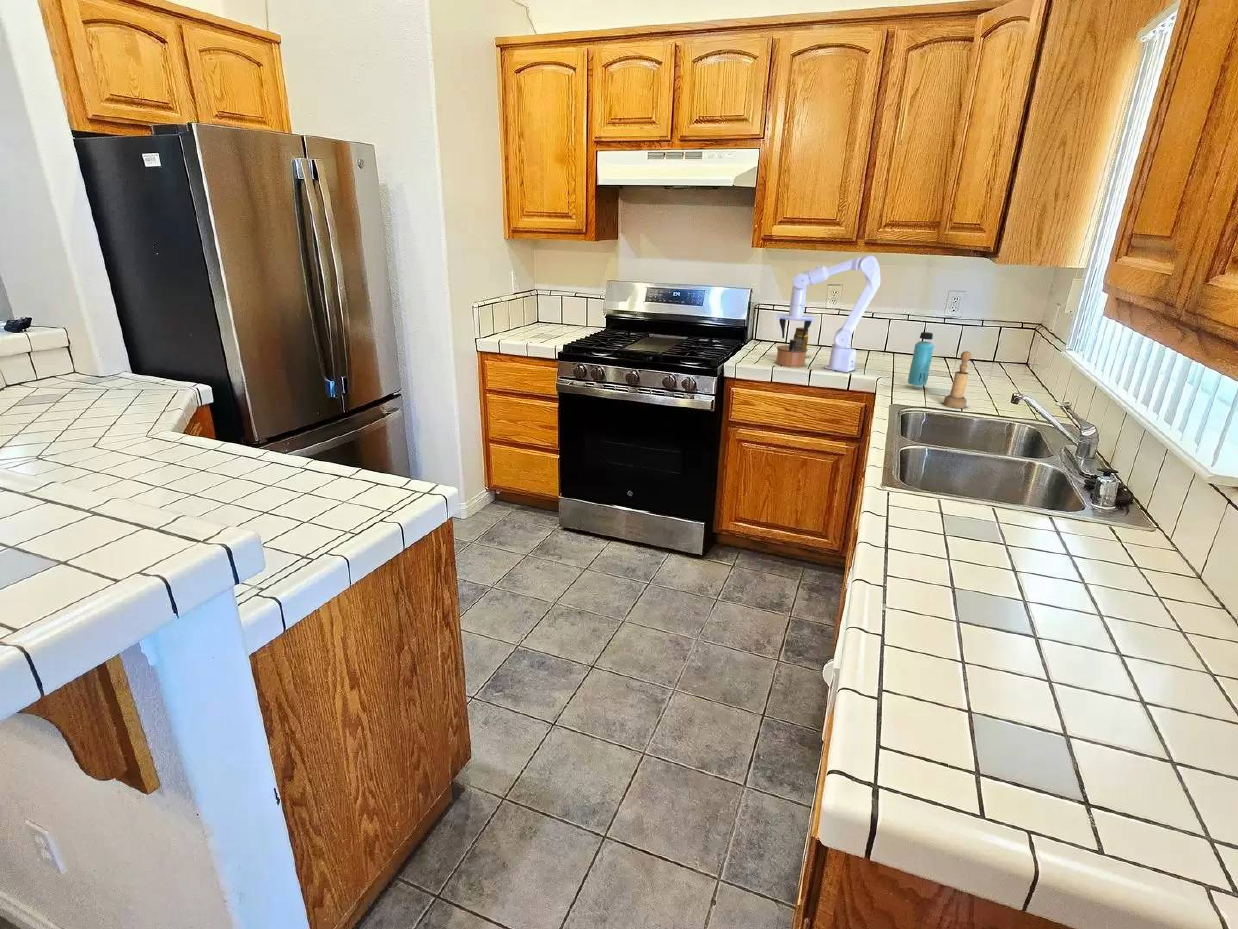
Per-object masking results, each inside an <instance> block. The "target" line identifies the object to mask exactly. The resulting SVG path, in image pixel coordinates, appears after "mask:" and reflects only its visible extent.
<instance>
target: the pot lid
mask: <svg viewBox="0 0 1238 929" xmlns="http://www.w3.org/2000/svg"><path fill="white" fill-rule="evenodd" d="M796 341H797V340H794V338H791V339H789V345H787V344H786V345H785V344H781V345H778V346H776V350H781V351H786V352H795V353H802V352H806V353H807V352H808V348H807V349H806V348H804V347H799V346H796Z"/></svg>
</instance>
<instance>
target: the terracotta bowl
mask: <svg viewBox="0 0 1238 929" xmlns="http://www.w3.org/2000/svg"><path fill="white" fill-rule="evenodd" d="M776 350H777V352H776V359H775V363H776V364H777V365H779V366H783V367H789V368H800V367H801V368H802V367H804V366H805V363H806V358H807V357H806V356H807V352H802V353H795V352H786V351H781V350H778V349H776Z"/></svg>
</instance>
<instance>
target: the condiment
mask: <svg viewBox="0 0 1238 929" xmlns="http://www.w3.org/2000/svg"><path fill="white" fill-rule="evenodd" d="M803 329H804V327H796V328H795V331H794V334H793V339H794V340H797V341H796V346H799V347H804V348H806V349H808V342H809V329H808V330H807V332H806V334H805V336H804V340H802V334H803ZM809 357H810V355H806V357H805V358H809Z"/></svg>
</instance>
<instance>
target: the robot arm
mask: <svg viewBox="0 0 1238 929" xmlns="http://www.w3.org/2000/svg"><path fill="white" fill-rule="evenodd" d="M849 270H852V271H856V272H858V271H859V270H860V272H861V273H862V274H863V276H864V279H865V282H866V285H865V287H864V288H863V289H862V292H861V294H860V295H859V297H858V298H857V300H856V302H855V304H854V306H853V307H852V310H851V311H850V313H849V314H848V316H847V318H846V320H845V321H844V323H843V325H842V326H841V327H840V328H839V329H838V330H836V332H835V334H834V336H833V343H832V344H831V349H830V354H829V355H830V356H829V361H828V365H826V366H824V369H826V370H827V369H829V370H834V371H838V372H843V373H849V372H852V371H855V370H856V368H855V366H856V362H857V355H858V354H857V352H858V351H857V350H856V349H855V348H852V345H851V344H850V343H851V341H852V337H853V333H854V332H855V329H856V327H857V326H858V324H859V322H860V321H861V319H862V317H863V316H864V314H865V312H866V311H867V309H868V307H869V306H870V303H871V302H872V300H873V299H874V296H875V295H876V293H877V291H878V290H879V288H880V286H881V283H882V281H881V267H880V264H879V261H878V259H877V257H876V256H875V255H872V254H867V255H865V256H858V257H853V258H850V259H848V260H844V261H842V262H839V263H837V264H834V265H831V266H828V267H827V266H825V265H820V264H819V265H816V266H815V268H812V269H809V270H807V269H805V270H803V272H799V273H797V274H796V275H795V276H793V278H792V289H791V291H792V292H791V295H790V302H789V310H788V314H787V313H786V314H782V313H777V314H776V315H777V316H776V320H778V322H779V325H780V329H781V339H785V332H786V331H785V330H786V329H785V328H786V322H787V321H795V322H804V323H803V328H804V329H803V334H802V340H804V336H805V334H806V332H807V330H808V331H809V328H810V326H811V325H812V323H815V319H816V318H815V317H816V316H810V315H805V307H806V298H807V287H808V286H813V285H816V284H820V283H822V282H825V281H827V280H828V278H829V277H830V276H832V275H835V274H839V273H842V272H847V271H849Z"/></svg>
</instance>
